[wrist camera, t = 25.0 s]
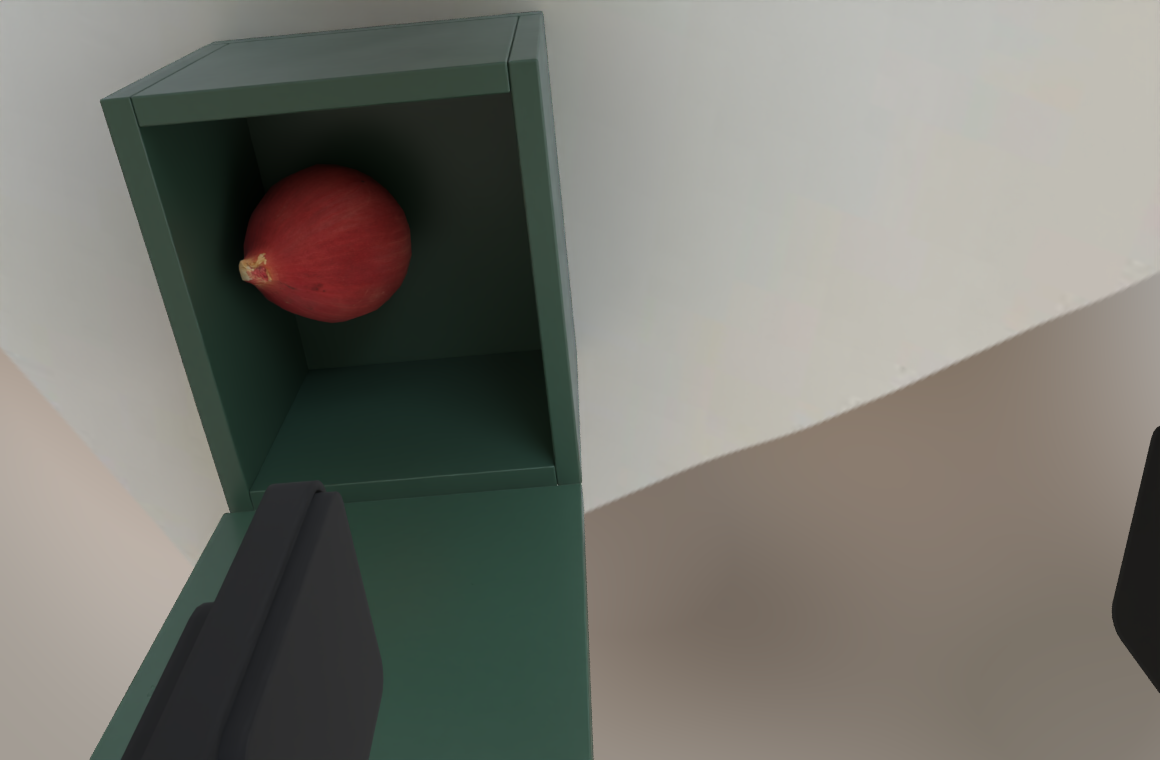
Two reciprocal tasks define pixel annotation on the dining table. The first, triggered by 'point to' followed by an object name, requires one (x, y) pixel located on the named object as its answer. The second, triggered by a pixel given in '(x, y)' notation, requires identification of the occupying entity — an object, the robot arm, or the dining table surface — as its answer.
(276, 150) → the bin
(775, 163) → the dining table surface
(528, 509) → the bin lid
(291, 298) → the onion
